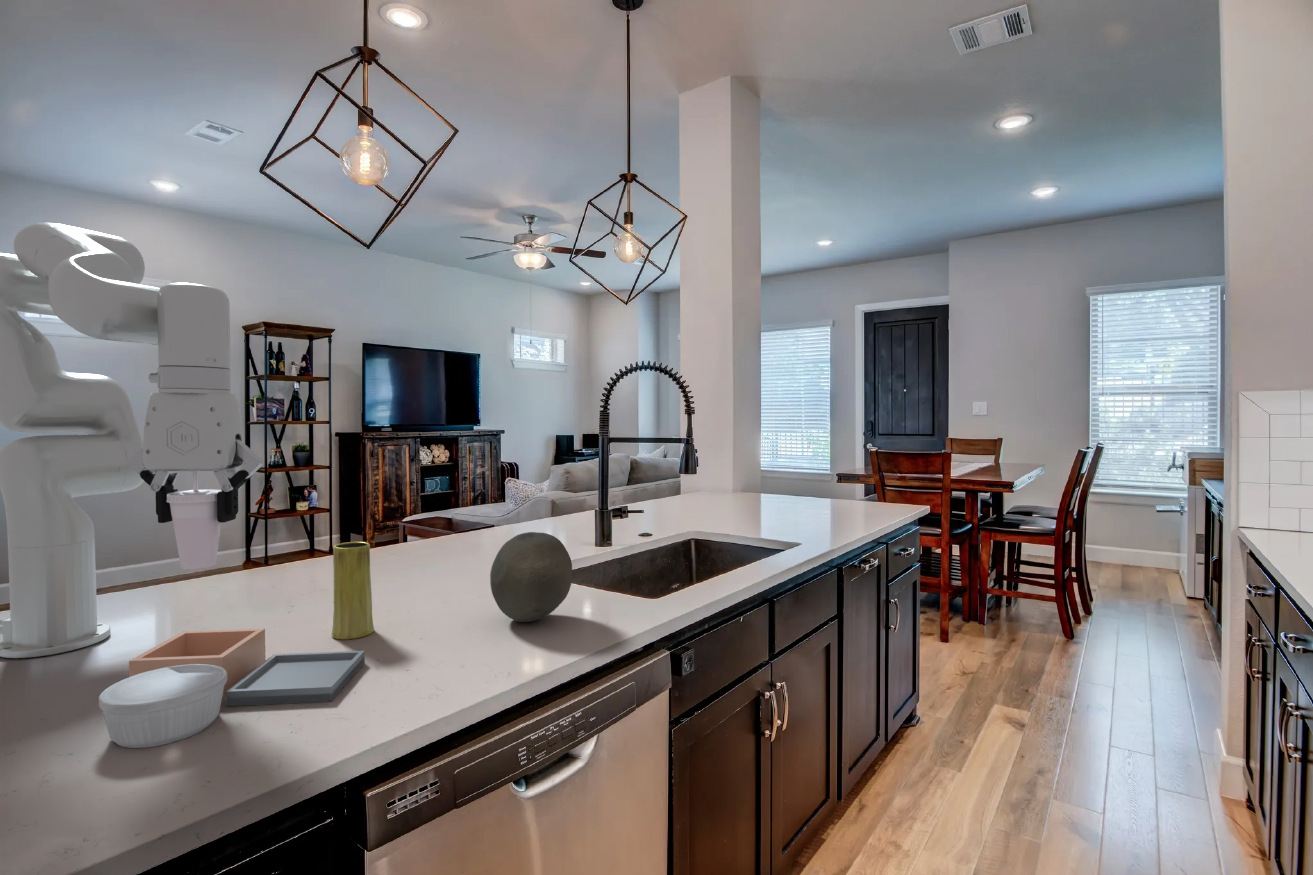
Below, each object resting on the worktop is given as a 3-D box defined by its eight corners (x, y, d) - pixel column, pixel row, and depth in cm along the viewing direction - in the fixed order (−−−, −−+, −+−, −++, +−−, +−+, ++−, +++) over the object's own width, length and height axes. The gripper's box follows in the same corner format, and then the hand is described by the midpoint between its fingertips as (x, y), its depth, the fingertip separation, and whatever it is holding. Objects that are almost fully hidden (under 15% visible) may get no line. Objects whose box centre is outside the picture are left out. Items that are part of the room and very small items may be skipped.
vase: (357, 641, 98) (356, 549, 98) (322, 638, 99) (321, 547, 99) (381, 628, 104) (380, 541, 104) (348, 625, 105) (347, 540, 105)
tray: (226, 706, 76) (225, 691, 76) (274, 666, 88) (273, 654, 88) (331, 701, 78) (331, 686, 78) (364, 663, 90) (364, 650, 90)
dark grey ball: (472, 630, 103) (471, 538, 103) (516, 605, 117) (516, 524, 116) (551, 639, 99) (550, 544, 99) (587, 612, 113) (587, 528, 112)
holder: (130, 701, 78) (128, 660, 77) (184, 667, 88) (183, 631, 88) (223, 697, 79) (222, 657, 79) (265, 663, 89) (264, 628, 89)
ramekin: (248, 705, 77) (247, 662, 77) (183, 754, 66) (182, 704, 66) (153, 706, 77) (152, 662, 76) (71, 755, 65) (69, 705, 65)
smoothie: (219, 558, 88) (217, 456, 87) (235, 565, 83) (233, 459, 83) (161, 566, 83) (158, 459, 82) (176, 575, 78) (173, 461, 78)
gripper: (100, 380, 77) (103, 527, 78) (252, 382, 79) (254, 525, 80) (142, 382, 85) (145, 516, 85) (280, 385, 87) (282, 515, 88)
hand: (197, 519), depth 83 cm, fingers closed on smoothie, 6 cm apart
